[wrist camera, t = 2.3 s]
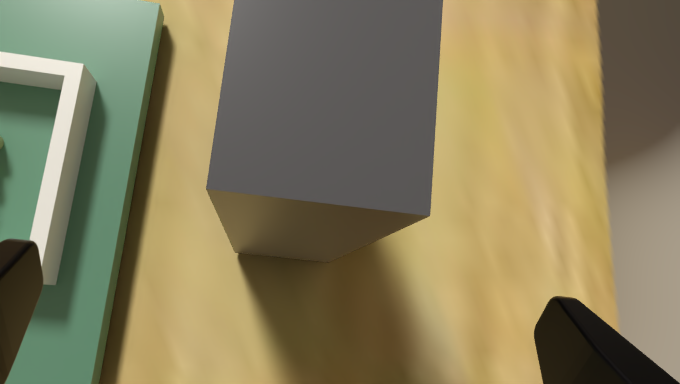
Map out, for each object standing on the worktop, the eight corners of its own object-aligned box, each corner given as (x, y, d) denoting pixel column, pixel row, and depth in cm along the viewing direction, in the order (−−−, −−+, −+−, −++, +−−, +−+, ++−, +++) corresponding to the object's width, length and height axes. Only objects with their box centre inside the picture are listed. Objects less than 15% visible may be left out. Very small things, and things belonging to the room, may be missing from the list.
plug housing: (328, 262, 20) (430, 215, 8) (234, 252, 20) (206, 189, 8) (341, 136, 21) (446, -60, 10) (252, 123, 21) (249, -99, 9)
